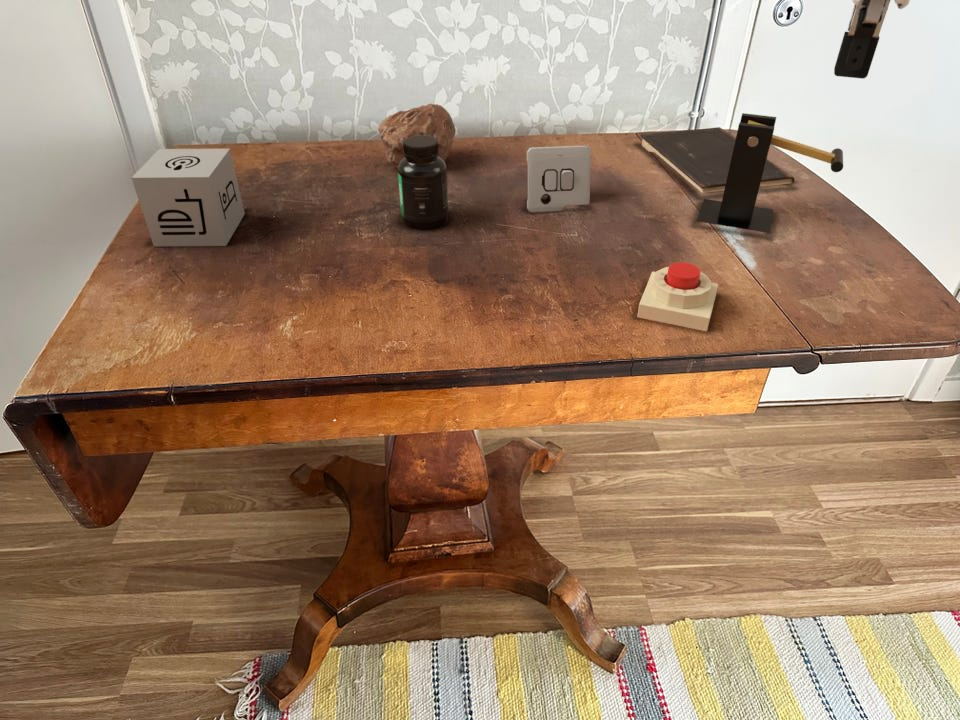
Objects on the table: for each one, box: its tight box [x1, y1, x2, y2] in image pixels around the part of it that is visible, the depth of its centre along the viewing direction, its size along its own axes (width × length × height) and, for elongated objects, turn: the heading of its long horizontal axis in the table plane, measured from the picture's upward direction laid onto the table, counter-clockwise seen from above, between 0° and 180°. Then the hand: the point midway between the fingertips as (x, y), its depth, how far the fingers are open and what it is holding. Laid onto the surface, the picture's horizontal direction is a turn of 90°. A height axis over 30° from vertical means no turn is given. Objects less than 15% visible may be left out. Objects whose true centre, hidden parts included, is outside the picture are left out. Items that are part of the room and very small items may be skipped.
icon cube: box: [131, 148, 246, 248], centre depth 98 cm, size 10×10×10 cm
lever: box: [747, 120, 844, 173], centre depth 93 cm, size 13×5×2 cm, turn 68°
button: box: [666, 262, 701, 290], centre depth 81 cm, size 4×4×2 cm
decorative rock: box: [377, 103, 457, 170], centre depth 117 cm, size 13×11×10 cm
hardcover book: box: [639, 126, 795, 194], centre depth 118 cm, size 16×23×2 cm
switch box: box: [636, 266, 719, 332], centre depth 83 cm, size 8×8×4 cm
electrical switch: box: [526, 145, 592, 213], centre depth 104 cm, size 9×5×9 cm, turn 95°
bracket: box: [696, 112, 777, 234], centre depth 98 cm, size 10×8×15 cm
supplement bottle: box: [397, 135, 449, 231], centre depth 99 cm, size 7×7×12 cm
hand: (849, 74), depth 74 cm, fingers closed
